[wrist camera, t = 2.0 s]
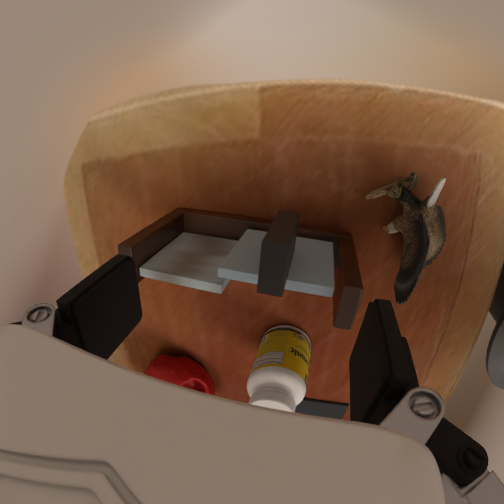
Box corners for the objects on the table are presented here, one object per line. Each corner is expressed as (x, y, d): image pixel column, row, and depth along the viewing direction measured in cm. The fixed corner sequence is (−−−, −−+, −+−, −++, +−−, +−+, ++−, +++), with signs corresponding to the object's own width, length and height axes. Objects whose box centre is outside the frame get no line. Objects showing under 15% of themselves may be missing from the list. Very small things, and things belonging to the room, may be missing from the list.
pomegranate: (159, 385, 40) (131, 431, 31) (149, 337, 36) (111, 385, 27) (222, 404, 38) (200, 456, 30) (222, 357, 34) (194, 416, 25)
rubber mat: (348, 403, 33) (348, 406, 32) (326, 443, 37) (326, 445, 37) (264, 390, 35) (263, 392, 34) (256, 432, 39) (256, 434, 39)
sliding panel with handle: (339, 206, 22) (347, 255, 14) (331, 250, 24) (332, 317, 16) (250, 193, 24) (206, 232, 15) (246, 236, 25) (205, 293, 17)
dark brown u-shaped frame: (351, 233, 25) (363, 289, 16) (345, 264, 26) (351, 330, 17) (177, 207, 27) (117, 244, 19) (178, 236, 29) (122, 282, 20)
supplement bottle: (317, 356, 31) (309, 429, 22) (272, 364, 32) (252, 432, 24) (303, 318, 29) (290, 392, 20) (254, 328, 31) (227, 397, 22)
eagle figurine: (336, 203, 23) (375, 303, 23) (391, 185, 16) (433, 316, 16) (399, 174, 24) (430, 263, 25) (454, 155, 17) (486, 265, 18)
